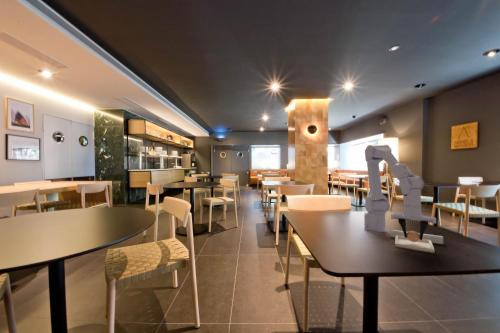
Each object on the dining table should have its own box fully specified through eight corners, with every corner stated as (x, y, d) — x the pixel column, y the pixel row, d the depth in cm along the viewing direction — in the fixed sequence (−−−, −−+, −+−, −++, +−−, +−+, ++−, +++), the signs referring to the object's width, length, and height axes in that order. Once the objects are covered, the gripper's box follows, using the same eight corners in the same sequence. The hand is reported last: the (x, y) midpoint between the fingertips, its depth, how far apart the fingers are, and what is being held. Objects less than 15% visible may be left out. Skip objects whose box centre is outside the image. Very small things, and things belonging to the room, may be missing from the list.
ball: (406, 242, 85) (406, 231, 85) (406, 239, 88) (406, 228, 88) (420, 244, 82) (420, 233, 82) (419, 241, 86) (419, 230, 86)
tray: (395, 246, 84) (395, 243, 84) (395, 238, 94) (395, 235, 94) (434, 253, 77) (434, 249, 77) (430, 243, 87) (430, 240, 87)
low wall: (390, 236, 96) (390, 230, 96) (390, 235, 97) (390, 229, 97) (443, 244, 85) (443, 237, 85) (442, 243, 86) (442, 236, 86)
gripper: (390, 205, 87) (391, 237, 86) (436, 208, 78) (438, 244, 78) (391, 202, 92) (392, 233, 92) (434, 205, 84) (435, 239, 83)
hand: (413, 238), depth 85 cm, fingers closed on ball, 4 cm apart
